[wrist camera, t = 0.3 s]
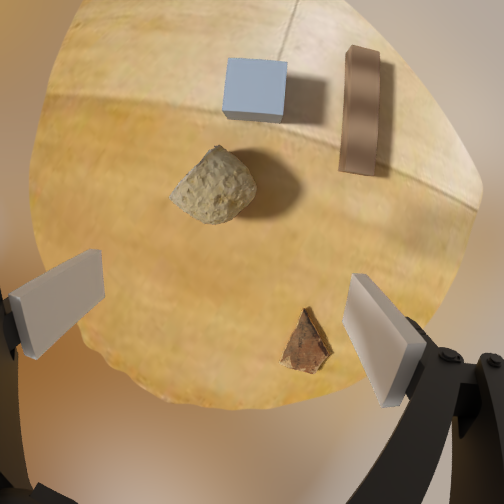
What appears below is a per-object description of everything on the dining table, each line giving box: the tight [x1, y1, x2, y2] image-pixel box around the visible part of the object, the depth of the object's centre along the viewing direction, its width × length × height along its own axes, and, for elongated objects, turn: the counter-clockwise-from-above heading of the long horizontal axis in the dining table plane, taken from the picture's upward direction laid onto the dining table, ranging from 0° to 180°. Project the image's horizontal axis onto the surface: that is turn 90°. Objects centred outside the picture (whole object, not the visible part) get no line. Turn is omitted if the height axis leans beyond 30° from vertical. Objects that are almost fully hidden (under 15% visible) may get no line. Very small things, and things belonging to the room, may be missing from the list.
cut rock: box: [169, 145, 257, 225], centre depth 35 cm, size 10×10×10 cm
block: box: [222, 58, 287, 123], centre depth 33 cm, size 7×7×6 cm
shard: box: [279, 308, 330, 374], centre depth 44 cm, size 11×8×2 cm
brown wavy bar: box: [338, 45, 380, 176], centre depth 34 cm, size 18×4×4 cm, turn 175°
